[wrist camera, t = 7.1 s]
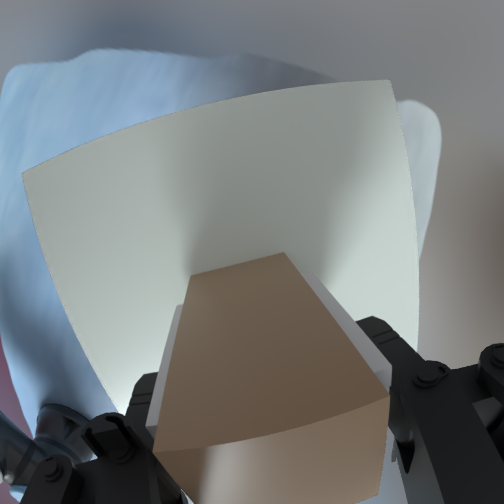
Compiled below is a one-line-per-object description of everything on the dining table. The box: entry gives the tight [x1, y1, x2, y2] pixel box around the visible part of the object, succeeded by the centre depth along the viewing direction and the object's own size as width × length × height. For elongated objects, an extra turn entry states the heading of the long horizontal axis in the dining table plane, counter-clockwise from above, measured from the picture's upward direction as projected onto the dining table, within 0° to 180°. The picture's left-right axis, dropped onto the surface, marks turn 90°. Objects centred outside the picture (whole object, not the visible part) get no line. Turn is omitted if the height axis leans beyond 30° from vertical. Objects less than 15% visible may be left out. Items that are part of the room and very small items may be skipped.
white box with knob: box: [22, 80, 419, 504], centre depth 16 cm, size 17×17×22 cm
